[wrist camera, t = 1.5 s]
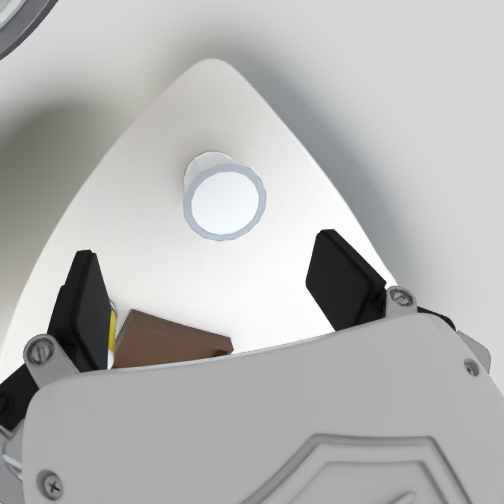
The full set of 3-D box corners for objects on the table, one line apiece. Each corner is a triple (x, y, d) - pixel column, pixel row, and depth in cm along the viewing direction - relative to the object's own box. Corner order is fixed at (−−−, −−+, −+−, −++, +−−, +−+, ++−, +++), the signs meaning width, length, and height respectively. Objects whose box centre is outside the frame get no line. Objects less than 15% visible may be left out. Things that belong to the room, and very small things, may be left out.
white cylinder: (165, 191, 26) (167, 222, 21) (201, 132, 24) (213, 147, 19) (221, 218, 30) (237, 253, 25) (256, 166, 28) (283, 189, 22)
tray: (104, 363, 38) (104, 375, 36) (131, 309, 33) (131, 322, 31) (189, 382, 46) (191, 393, 44) (230, 337, 42) (234, 350, 40)
